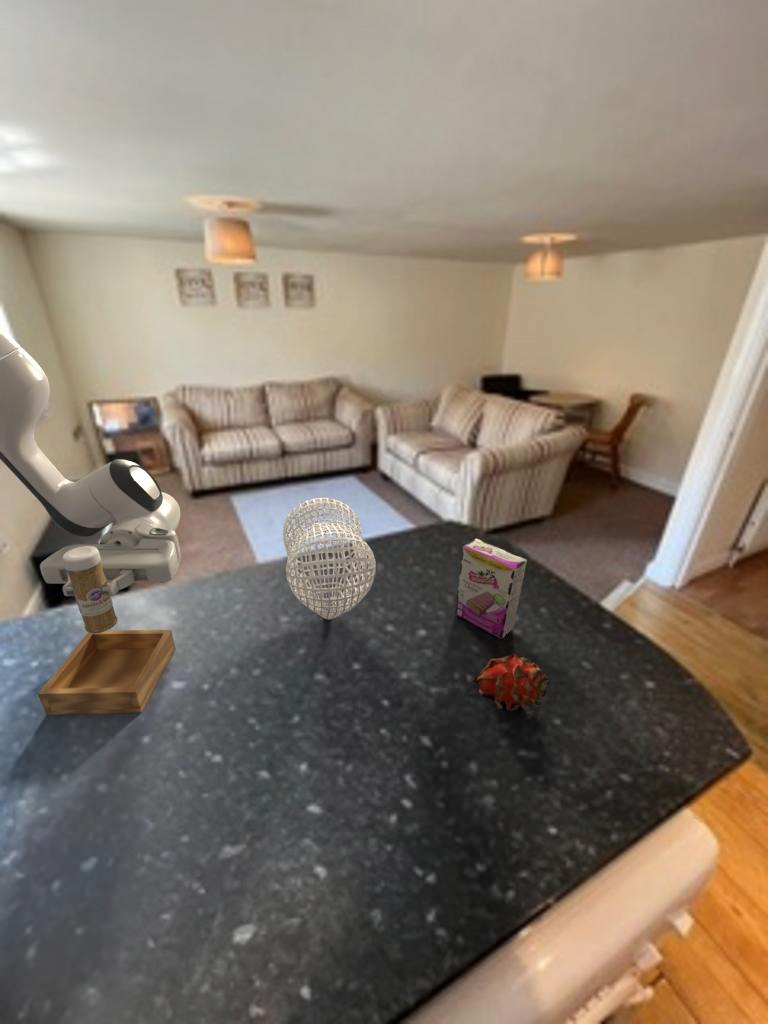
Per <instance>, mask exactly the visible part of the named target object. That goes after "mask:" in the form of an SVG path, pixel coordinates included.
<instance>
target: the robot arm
mask: <svg viewBox="0 0 768 1024" xmlns="http://www.w3.org/2000/svg"><path fill="white" fill-rule="evenodd" d="M50 392H51V388H50V381H49V378H48V376H47V375H46V373H45V371H44V370H43V369H42V367H41V366H40V364H38V362H37V361H36V360H35V359H34V358H33V357H32V356H31V355H30V354H29V353H28V352H27V351H26V350H25V349H24V348H23V347H21V345H20V344H19V343H18V342H17V341H16V340H15V339H14V338H13V337H12V336H11V335H10V334H8V332H6V330H5V329H3V328H2V327H1V326H0V460H1V461H2V463H3V464H4V465H5V466H6V467H7V468H8V469H9V470H10V471H11V472H12V474H14V476H15V477H16V478H17V479H18V480H19V481H20V482H21V483H22V484H23V485H24V486H25V488H27V489H28V491H30V493H31V494H32V495H33V496H34V497H35V499H37V500H38V501H39V502H40V504H41V505H42V506H43V508H44V509H45V511H46V513H47V514H48V516H49V517H50V518H51V521H53V522H54V524H55V525H56V526H57V527H58V528H59V529H61V530H62V531H64V532H65V533H68V534H71V535H74V536H78V537H85V538H86V537H92V536H94V535H96V534H98V533H99V532H100V531H102V530H104V529H105V528H107V527H108V526H109V525H111V524H112V523H114V522H116V523H115V524H114V525H113V526H112V527H111V528H110V529H109V530H108V531H107V532H106V533H104V534H103V535H102V536H101V538H100V541H99V543H73V544H70V545H66V546H64V547H62V548H60V549H59V550H57V551H55V552H54V553H52V554H51V555H49V556H48V557H46V559H44V560H43V561H41V563H40V564H39V569H40V572H41V576H42V578H43V580H44V582H45V583H46V584H49V585H53V584H59V585H60V584H63V586H62V592H63V595H64V596H65V597H75V595H74V592H73V589H72V584H71V580H70V578H69V574H68V572H67V570H66V569H65V567H64V564H63V560H62V557H63V555H64V554H65V553H66V552H68V551H70V550H72V549H74V548H78V547H83V546H92V547H95V548H97V549H98V551H99V554H100V557H101V566H102V570H103V573H104V576H105V578H106V582H105V584H104V585H102V588H101V589H102V591H103V595H104V596H111V597H113V596H115V595H116V594H117V593H118V592H119V591H121V590H123V589H126V588H128V587H129V586H131V585H133V584H165V583H167V582H170V581H172V580H173V579H174V577H175V576H176V574H177V572H178V571H179V568H180V563H181V562H182V554H181V548H180V542H179V539H178V536H177V532H176V530H177V528H178V526H179V524H180V520H181V508H180V504H179V502H177V499H175V498H174V497H173V496H172V495H170V494H168V493H167V492H166V493H165V492H163V491H162V490H161V487H160V485H159V484H158V482H157V480H156V479H155V478H154V477H153V475H152V474H151V473H150V472H149V471H148V470H147V469H146V468H145V467H143V466H141V465H139V464H138V463H136V462H133V461H130V460H126V459H122V458H121V459H114V460H112V461H110V462H108V463H107V464H104V465H103V466H101V467H99V468H97V469H95V470H94V471H92V472H91V473H89V474H87V475H86V476H84V477H82V478H80V479H78V480H76V481H71V480H68V479H66V478H65V476H64V475H62V474H63V473H61V472H60V471H59V470H58V468H56V466H55V465H54V464H53V463H52V461H51V460H50V459H49V458H48V457H47V456H46V455H45V453H44V452H43V451H42V449H40V447H39V446H38V444H37V442H36V439H35V431H36V427H37V425H38V423H39V421H40V419H41V418H42V416H43V414H44V412H45V411H46V409H47V407H48V404H49V401H50V394H51V393H50Z"/></svg>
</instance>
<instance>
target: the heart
mask: <svg viewBox="0 0 768 1024" xmlns="http://www.w3.org/2000/svg"><path fill="white" fill-rule="evenodd" d="M326 504H327V505H326ZM326 510H328V513H326ZM320 511H322V513H320ZM333 511H334V513H333ZM314 512H315V514H314ZM339 513H340V515H339ZM308 514H309V515H308ZM298 516H299V517H298ZM345 516H346V517H347V518H346V517H345ZM320 517H323V518H321V519H320ZM326 517H329V518H326ZM315 518H317V520H315ZM333 518H334V519H333ZM293 520H294V521H293ZM310 520H311V522H309V521H310ZM333 522H335V523H333ZM304 524H305V525H304ZM282 536H283V537H282V540H283V545H284V547H285V551H286V555H287V559H286V565H285V576H286V580H287V584H288V586H289V588H290V591H291V592H292V593H293V595H294V596H295V598H296V599H297V600H298V601H299V602H300V603H301V604H302V605H304V606H305V607H306V608H308V610H311V611H312V612H314V613H315V614H317V615H318V616H320V617H321V618H323V619H325V620H333V619H336V618H338V617H339V616H341V615H342V614H345V613H347V612H349V611H350V610H352V609H353V608H355V607H356V606H357V605H358V604H359V603H360V602H361V601H362V600H363V599H364V598H365V596H366V595H367V594H368V593H369V592H370V590H371V589H372V586H373V584H374V581H375V577H376V572H377V571H376V570H377V567H376V566H377V564H376V563H377V562H376V558H375V555H374V552H373V550H372V549H371V546H369V545H368V543H367V542H366V541H365V540H364V539H363V538H362V526H361V522H360V519H359V516H358V515H357V514H356V512H355V511H354V510H353V508H351V507H350V506H349V505H348V504H346V503H345V502H342V501H341V500H339V499H336V498H331V497H315V498H314V497H313V498H311V499H307V500H304V501H303V502H300V503H299V504H297V505H296V506H295V507H294V508H293V509H292V510H291V511H290V512H289V513H288V515H287V516H286V518H285V520H284V524H283V527H282ZM327 536H329V537H330V538H327ZM333 536H335V537H333ZM317 538H318V540H317ZM312 539H313V541H311V540H312ZM350 544H351V545H350ZM322 545H323V547H322ZM328 545H331V547H330V548H328V547H329V546H328ZM335 545H336V547H335ZM345 545H346V546H345ZM312 546H313V548H314V550H312V549H311V547H312ZM318 546H319V547H318ZM306 548H307V549H306ZM303 551H304V552H303ZM346 552H347V553H348V555H346ZM323 554H324V555H325V559H324V557H323ZM329 554H332V555H331V556H332V558H330V557H329ZM336 554H337V557H336ZM353 554H354V555H353ZM313 555H314V556H315V560H313V558H312V557H313ZM340 555H341V558H340ZM352 555H353V556H352ZM303 557H304V558H303ZM320 557H321V559H320ZM304 559H305V561H304ZM324 565H326V566H324ZM330 565H332V566H330ZM337 565H338V566H337ZM314 566H316V567H315V568H314ZM321 566H322V567H321ZM348 566H349V567H348ZM305 567H306V569H305ZM341 569H342V573H340V571H341ZM321 570H322V571H321ZM325 570H326V574H325ZM330 570H332V574H330ZM299 571H300V572H299ZM315 571H317V575H316V573H315ZM346 571H347V572H346ZM306 573H307V574H308V575H307V574H306ZM349 576H350V577H349ZM339 578H340V580H339ZM348 578H349V579H348ZM322 579H323V582H322ZM326 579H327V582H326ZM330 579H332V580H331V581H330ZM318 580H319V581H318ZM334 580H335V581H334ZM314 581H315V582H314ZM318 582H319V583H318ZM342 582H343V583H342ZM326 585H327V586H326ZM334 585H335V586H334ZM323 586H324V587H323ZM324 593H325V596H324ZM327 595H328V597H327Z"/></svg>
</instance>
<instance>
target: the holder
mask: <svg viewBox="0 0 768 1024" xmlns="http://www.w3.org/2000/svg"><path fill="white" fill-rule="evenodd" d="M175 650H176V644H175V640H174V635H173V632H172V629H121V630H120V629H118V630H117V629H115V630H111V629H109V630H107V631H104V632H101V633H89V632H87V633H86V634H85V635H84V637H83V638H82V639H81V640H80V641H79V643H78V644H77V645H76V646H75V648H74V649H73V650H72V651H71V652H70V654H69V655H68V656H67V658H65V660H64V661H63V662H62V664H61V665H60V666H59V667H58V668H57V670H55V672H54V673H53V674H52V676H51V677H50V678H49V679H48V681H47V682H46V683H45V685H43V687H42V688H41V689H40V690H39V692H38V693H37V696H38V699H39V701H40V704H41V706H42V708H43V711H44V715H46V716H55V715H58V716H59V715H60V716H61V715H97V714H98V715H99V714H141V713H142V712H143V711H144V709H145V708H146V705H147V703H148V701H149V699H150V698H151V695H152V694H153V693H154V690H155V688H156V686H157V684H158V682H159V680H160V679H161V677H162V675H163V674H164V671H165V669H166V667H167V665H168V664H169V661H170V659H171V658H172V656H173V654H174V652H175Z"/></svg>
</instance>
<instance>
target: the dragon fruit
mask: <svg viewBox="0 0 768 1024" xmlns="http://www.w3.org/2000/svg"><path fill="white" fill-rule="evenodd" d="M549 681H550V680H549V679H548V677H547V675H546V674H543V670H542V669H541V668H540V667H539V666H538V664H536V663H535V662H532V663H531V661H530V659H528V658H526V657H518V655H517V654H514V653H512V654H510V655H506V656H504V657H499V658H491V659H490V660H489V661H488V663H487V664H486V665H485V667H484V668H483V669H482V670H481V671H480V672H479V674H477V675H476V676H475V677H474V678H473V680H472V681H471V682H472V683H471V684H472V685H471V686H474V685H477V687H478V693H479V694H480V695H481V696H482V697H483V698H484V699H486V700H488V701H493V704H494V706H495V709H497V710H502V709H503V706H502V704H501V703H502V702H504V703H505V708H506V711H510V712H513V711H516V710H518V708H519V707H521V708H522V710H524V711H527V712H528V711H531V710H532V705H530V706H529V708H527V703H528V702H529V703H531V704H533V705H534V706H540V705H541V704H542V702H541V701H540V698H544V697H546V694H547V686H548V685H550V682H549ZM477 687H475V690H476V688H477ZM489 695H490V696H489ZM493 698H494V699H493ZM512 705H513V706H512Z"/></svg>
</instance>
